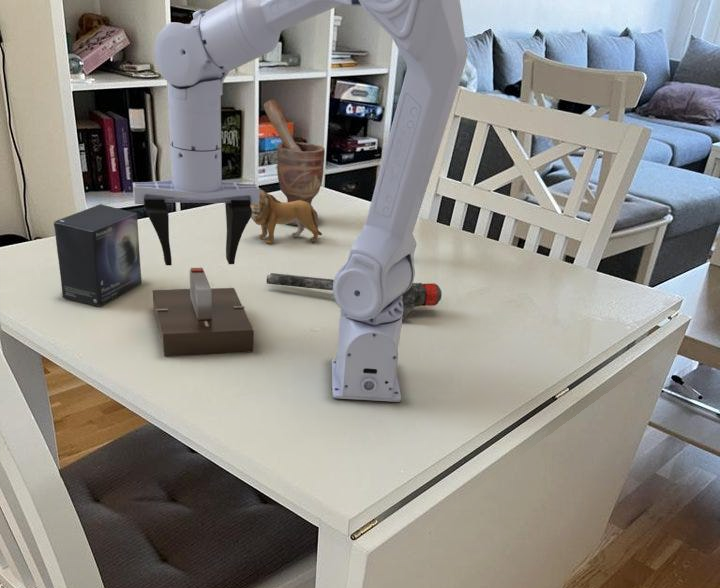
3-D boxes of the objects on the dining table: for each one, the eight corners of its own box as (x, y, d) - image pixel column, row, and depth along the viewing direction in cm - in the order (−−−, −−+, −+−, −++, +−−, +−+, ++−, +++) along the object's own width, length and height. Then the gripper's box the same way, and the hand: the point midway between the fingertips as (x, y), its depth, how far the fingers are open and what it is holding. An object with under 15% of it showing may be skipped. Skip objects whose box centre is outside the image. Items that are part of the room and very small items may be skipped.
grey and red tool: (443, 303, 119) (435, 326, 106) (285, 285, 123) (258, 306, 109) (448, 262, 116) (441, 281, 103) (286, 245, 120) (258, 261, 106)
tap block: (254, 351, 95) (254, 328, 94) (163, 356, 92) (161, 332, 90) (234, 308, 106) (234, 286, 104) (152, 310, 103) (151, 288, 101)
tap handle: (212, 319, 95) (211, 287, 92) (197, 320, 94) (196, 287, 92) (204, 298, 100) (203, 267, 98) (190, 298, 100) (189, 267, 97)
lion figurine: (250, 248, 127) (250, 193, 122) (238, 238, 131) (238, 184, 126) (328, 242, 133) (331, 189, 128) (315, 232, 137) (318, 181, 132)
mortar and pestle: (255, 222, 139) (256, 103, 127) (263, 209, 146) (265, 95, 134) (317, 229, 139) (324, 110, 127) (323, 216, 146) (329, 102, 134)
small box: (102, 308, 102) (93, 230, 96) (60, 298, 103) (49, 221, 97) (144, 284, 110) (139, 211, 104) (106, 275, 112) (98, 202, 106)
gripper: (252, 139, 91) (251, 250, 99) (127, 135, 87) (136, 251, 95) (264, 153, 86) (261, 269, 94) (131, 150, 81) (141, 272, 89)
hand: (199, 262), depth 94 cm, fingers open, 7 cm apart
